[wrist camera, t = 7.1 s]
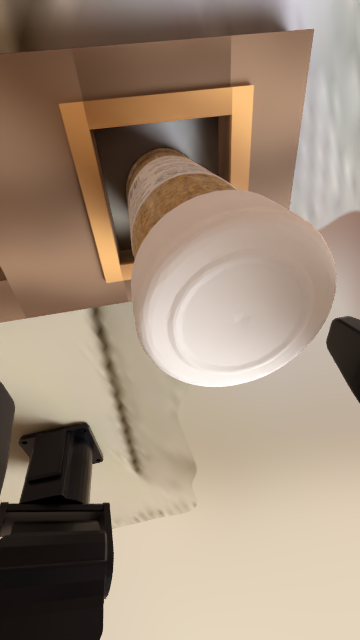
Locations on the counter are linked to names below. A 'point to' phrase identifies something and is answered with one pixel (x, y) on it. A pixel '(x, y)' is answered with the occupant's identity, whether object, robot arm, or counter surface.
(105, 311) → the counter surface
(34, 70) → the rail
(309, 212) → the counter surface
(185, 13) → the counter surface
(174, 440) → the counter surface
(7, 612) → the robot arm
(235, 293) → the sprinkles bottle
